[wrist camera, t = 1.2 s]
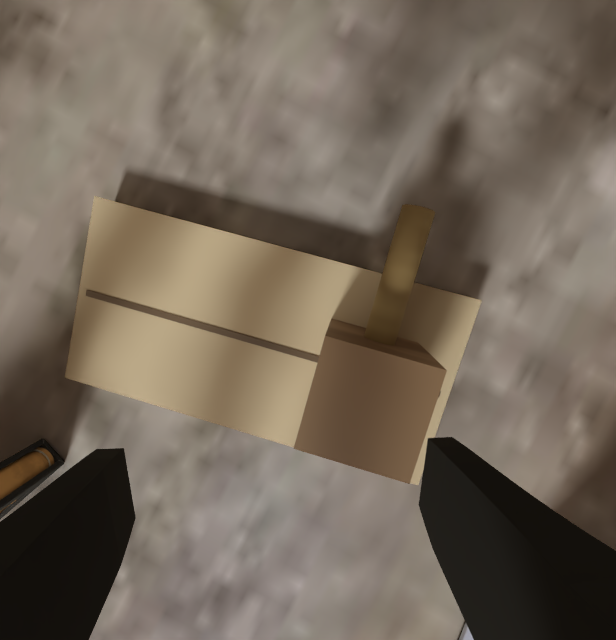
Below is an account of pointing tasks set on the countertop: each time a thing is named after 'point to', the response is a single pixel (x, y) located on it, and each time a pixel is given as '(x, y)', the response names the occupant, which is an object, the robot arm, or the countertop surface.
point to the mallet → (376, 374)
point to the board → (231, 321)
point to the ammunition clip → (25, 473)
